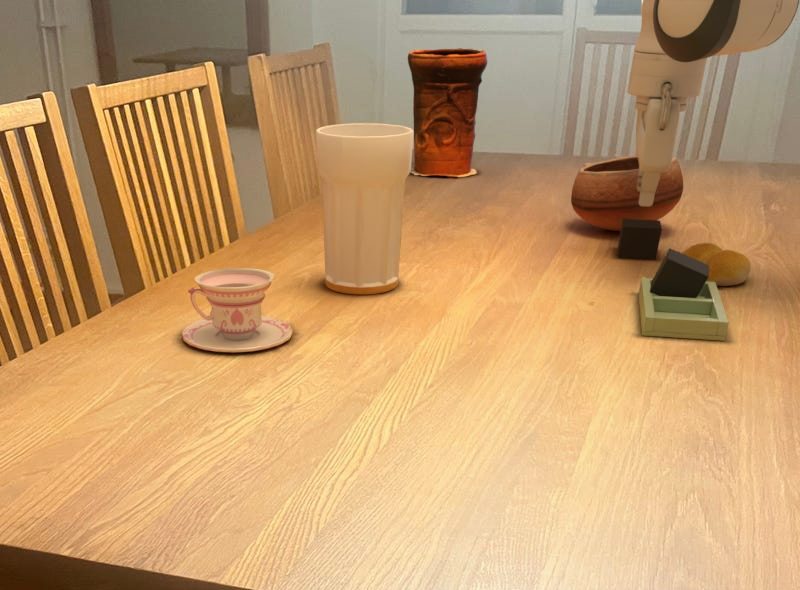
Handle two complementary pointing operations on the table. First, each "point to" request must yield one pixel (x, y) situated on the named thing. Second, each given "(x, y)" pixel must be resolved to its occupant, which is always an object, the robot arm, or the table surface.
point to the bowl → (622, 192)
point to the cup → (363, 203)
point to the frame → (683, 314)
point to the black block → (639, 239)
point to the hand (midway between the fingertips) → (643, 198)
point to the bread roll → (721, 263)
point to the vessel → (445, 109)
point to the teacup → (235, 312)
